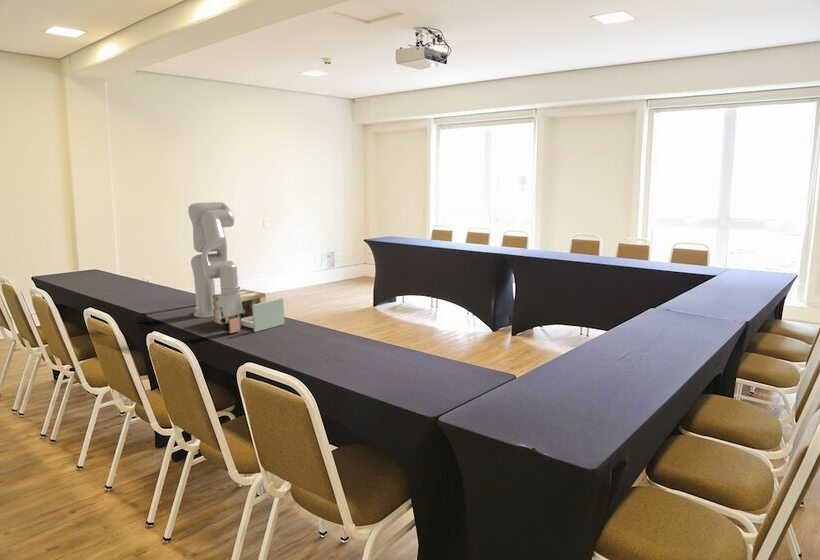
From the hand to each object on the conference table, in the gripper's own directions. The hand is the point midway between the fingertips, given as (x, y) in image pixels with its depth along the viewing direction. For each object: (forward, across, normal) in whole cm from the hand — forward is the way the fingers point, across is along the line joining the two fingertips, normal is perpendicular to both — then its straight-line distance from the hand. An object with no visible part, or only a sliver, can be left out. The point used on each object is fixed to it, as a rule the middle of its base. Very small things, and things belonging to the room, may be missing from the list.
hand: (232, 329), depth 263 cm
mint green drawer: (+1, -15, 0) cm, 15 cm away
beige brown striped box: (+2, -15, -14) cm, 21 cm away
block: (+1, 0, 0) cm, 1 cm away
